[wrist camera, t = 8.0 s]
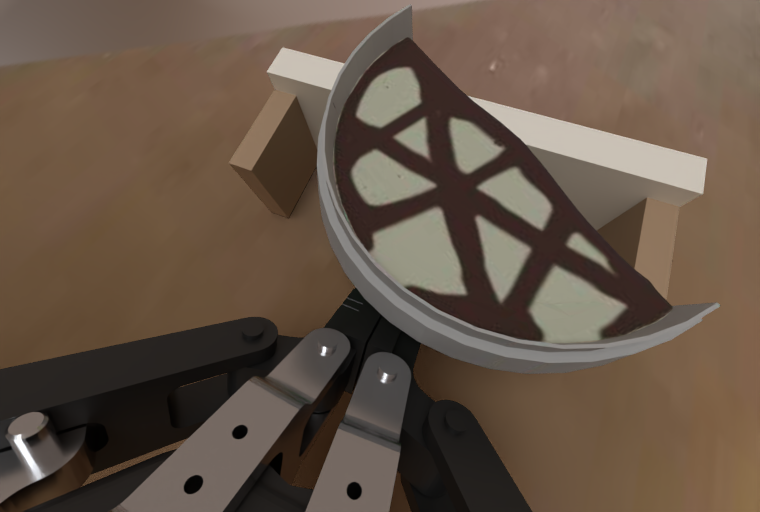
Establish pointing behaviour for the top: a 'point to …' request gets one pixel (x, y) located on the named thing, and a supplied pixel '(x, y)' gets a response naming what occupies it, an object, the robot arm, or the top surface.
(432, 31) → the top surface
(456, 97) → the food container
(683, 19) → the top surface
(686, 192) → the back stop bracket
